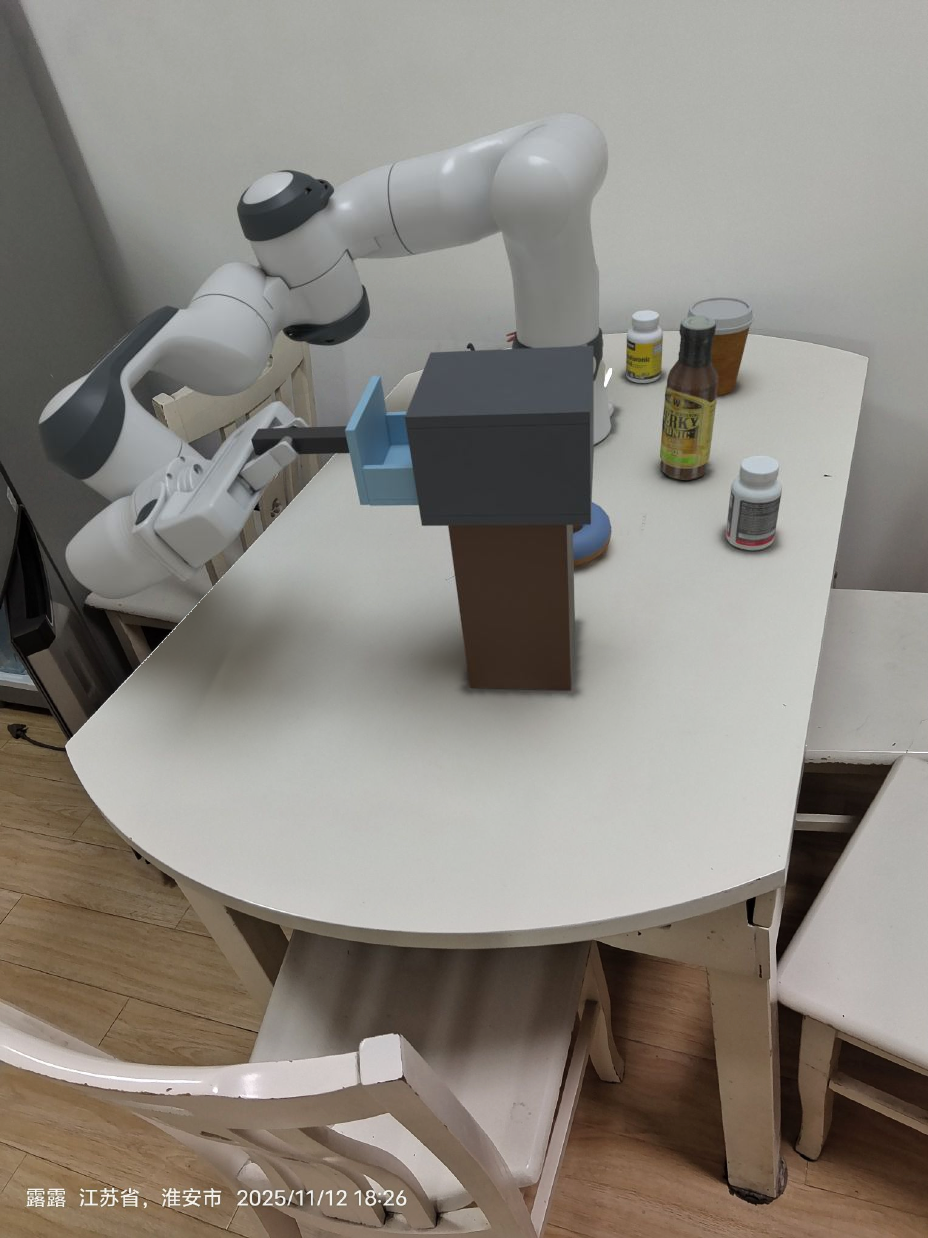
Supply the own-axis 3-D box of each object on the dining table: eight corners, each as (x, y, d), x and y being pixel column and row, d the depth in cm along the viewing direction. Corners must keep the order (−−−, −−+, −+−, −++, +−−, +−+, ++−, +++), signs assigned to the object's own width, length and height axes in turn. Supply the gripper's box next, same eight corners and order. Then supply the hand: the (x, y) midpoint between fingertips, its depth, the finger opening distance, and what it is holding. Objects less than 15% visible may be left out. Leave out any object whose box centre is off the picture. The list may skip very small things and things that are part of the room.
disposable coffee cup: (668, 383, 131) (672, 305, 124) (720, 367, 134) (727, 290, 126) (705, 406, 124) (712, 326, 117) (759, 390, 127) (770, 309, 119)
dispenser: (448, 694, 84) (404, 416, 65) (464, 616, 93) (430, 352, 74) (591, 698, 82) (590, 411, 63) (594, 617, 91) (593, 345, 72)
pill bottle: (784, 539, 98) (796, 464, 92) (751, 557, 96) (761, 482, 90) (747, 520, 102) (757, 446, 96) (715, 537, 100) (723, 463, 94)
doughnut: (553, 583, 96) (551, 550, 93) (512, 540, 103) (509, 508, 100) (628, 554, 99) (629, 521, 96) (582, 515, 106) (582, 483, 103)
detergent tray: (248, 507, 74) (226, 433, 69) (282, 449, 81) (264, 379, 77) (511, 504, 70) (505, 425, 66) (521, 444, 78) (516, 370, 73)
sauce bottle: (649, 472, 112) (656, 323, 99) (678, 453, 115) (688, 306, 102) (690, 488, 108) (703, 335, 95) (719, 468, 111) (735, 317, 98)
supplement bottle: (618, 379, 134) (619, 317, 128) (638, 366, 137) (640, 305, 131) (648, 387, 131) (650, 324, 125) (667, 373, 134) (671, 311, 128)
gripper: (252, 473, 90) (350, 409, 84) (177, 594, 75) (289, 527, 68) (209, 426, 87) (307, 357, 81) (122, 543, 72) (234, 468, 65)
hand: (298, 436), depth 74 cm, fingers closed on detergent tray, 2 cm apart
